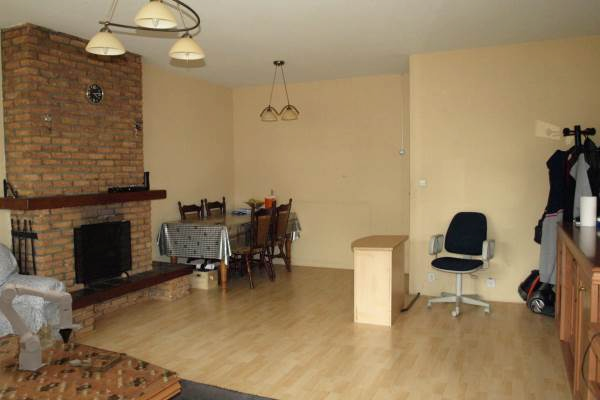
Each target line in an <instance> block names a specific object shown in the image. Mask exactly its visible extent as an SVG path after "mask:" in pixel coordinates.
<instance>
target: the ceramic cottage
mask: <svg viewBox="0 0 600 400" xmlns="http://www.w3.org/2000/svg"><path fill="white" fill-rule="evenodd" d="M51 325H52V323H51V322H47V324H46V322H42V323H41V326H39V329H38V330H37V332H34V331H33V333H34V334H37V335H38V336H39V337H40V347H41V352H42V351H46V350H49V349H51V348H52V347H53V346H54V345H56V343H57V342H56V339H55V336H54V334H53V329H51ZM19 346H20V348H19V351H20V352H21V351H22V350H23V349H26V345H25V343H24V342H23V340H22V338H21V337H20V339H19Z"/></svg>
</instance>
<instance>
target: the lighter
mask: <svg viewBox="0 0 600 400" xmlns="http://www.w3.org/2000/svg"><path fill="white" fill-rule="evenodd" d="M80 364H86V365H92V363H91V360H87V359H83V360H80V359H77V358H76V359H73V360H70V361H69V362H68V365H69V366H72V367H73V368H74V367H79V365H80Z"/></svg>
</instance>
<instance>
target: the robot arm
mask: <svg viewBox="0 0 600 400" xmlns="http://www.w3.org/2000/svg"><path fill="white" fill-rule="evenodd" d="M24 295H27V296H32V297H37V298H42V300H43V301H45V302H50V303H54V304H59V308H58V310H59V311H58V312H59V313H58V314H59V323H56V324H54V323H53V324H51V329H52V330H58V333H59V334H60V336H61V339H62V341H63V344H64V345H66V344H68V343H69V340H70V336H71V335H72V332H73V330H81V328H82V326H81V324H76V323H73V307H72V304H73V298H72V295H71V293H69V292H67V291H62V290H61V291H57V290H54V288H50V289H46V290H43V289H38V288H34V287H31V286H27V285H23V284H19V283H15V284H14V283H13V282H10V283H9V282H7V283H5V285H3V287H2V289H1V291H0V312H1V313H2V314H3V315H4V317H5V319H7V321H8V322H9V324H10V325H11V326H12V327H13V328H14V330H15V331H16V332H17V333H18V335H19V336H20V339H21V338H22V340H23V342H24V343H25V345H26V349H23V350H22V351H20V353H19V356H18V359H19V361H18V363H19V367H18V368H17V369H18V370H21V371H33V372H34V371H37V370H39V369H40V368H42V367H45V366H47V363H42V361H43V359H42V351H41V347H40V337H39V336H38V335H37V334H34V333H35V332H34V331H33V330H31V329H30V328H29V326H28V324H26V322H25V321H24V319H22V317H21V316H20V314H19V313H18V312H17V310H16V309H15V308H14V307H13V305H12V303H13V301H14V299H15V298H16V297H22V296H24ZM33 332H34V333H33Z"/></svg>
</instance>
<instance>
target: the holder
mask: <svg viewBox="0 0 600 400" xmlns="http://www.w3.org/2000/svg"><path fill="white" fill-rule="evenodd" d="M97 358H98V359H97ZM96 359H97V360H104V359H108V360H107V361H109V362H108V363H105V364H104V365H97V364H96V365H94V364H89V365H86V364H80V365H79V366H78V370H80V371H89V372H95V373H96V372H97V373H105V372H107V371H108V370H109V369H111V368H113V367H114V366H116V365H117V364H118V363H121V362H122V361H123V355H120V354H110V353H101V352H100V353H96Z"/></svg>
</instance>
